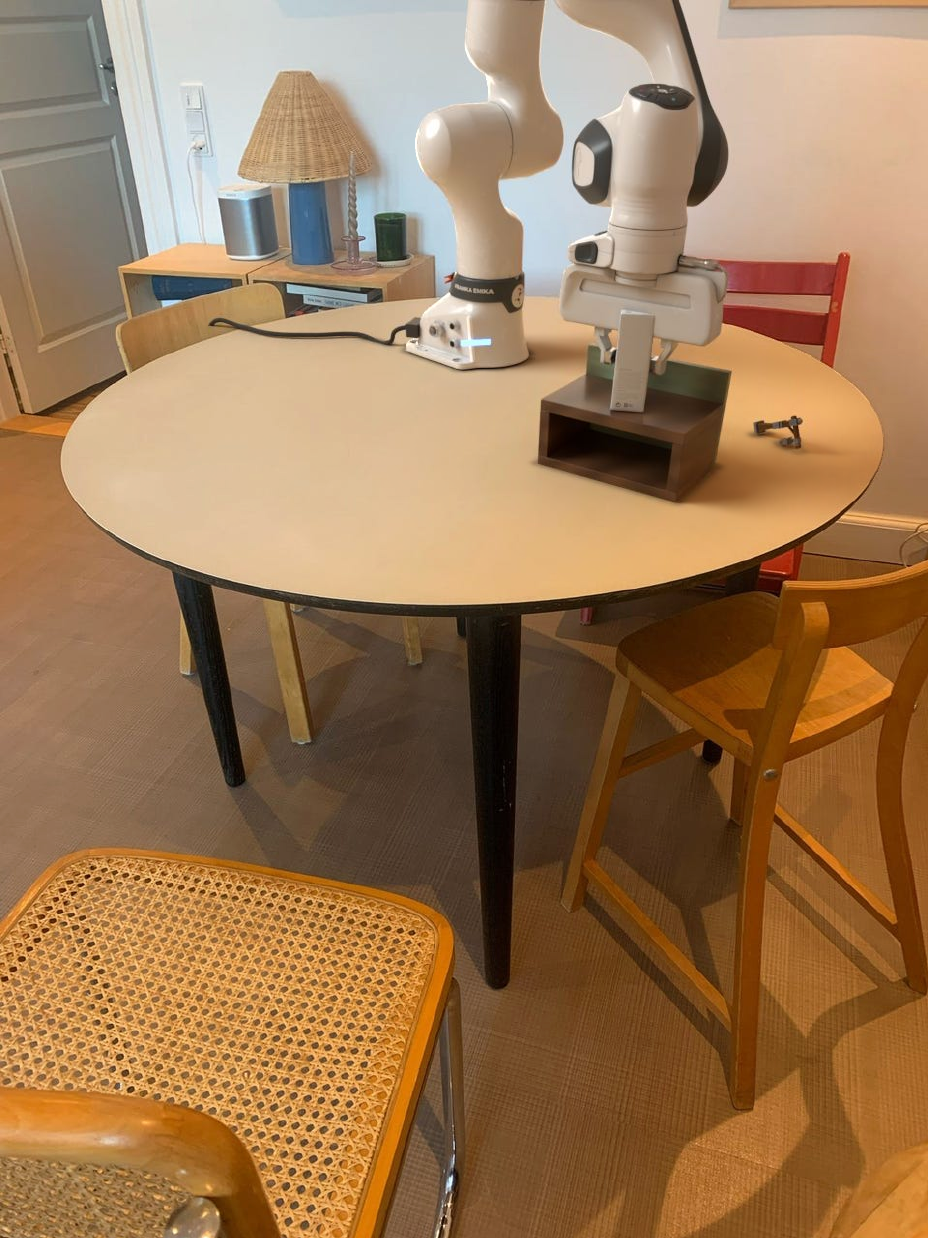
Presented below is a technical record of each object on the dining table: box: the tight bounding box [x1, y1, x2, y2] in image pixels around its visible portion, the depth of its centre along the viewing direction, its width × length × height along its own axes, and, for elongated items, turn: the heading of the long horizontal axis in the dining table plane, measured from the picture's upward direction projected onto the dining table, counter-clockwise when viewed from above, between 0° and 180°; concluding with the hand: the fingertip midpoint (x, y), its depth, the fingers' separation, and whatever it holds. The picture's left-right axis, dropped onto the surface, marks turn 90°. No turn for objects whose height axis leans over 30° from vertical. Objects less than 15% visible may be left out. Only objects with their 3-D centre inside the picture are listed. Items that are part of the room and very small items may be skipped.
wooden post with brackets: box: [752, 415, 804, 450], centre depth 122 cm, size 2×8×4 cm, turn 29°
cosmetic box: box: [610, 310, 655, 412], centre depth 107 cm, size 6×4×12 cm
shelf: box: [537, 342, 733, 503], centre depth 113 cm, size 20×13×13 cm, turn 55°
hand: (632, 367), depth 108 cm, fingers closed on cosmetic box, 5 cm apart
